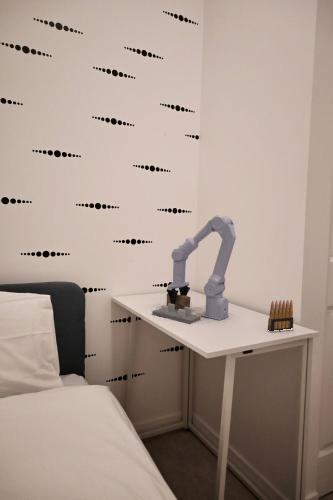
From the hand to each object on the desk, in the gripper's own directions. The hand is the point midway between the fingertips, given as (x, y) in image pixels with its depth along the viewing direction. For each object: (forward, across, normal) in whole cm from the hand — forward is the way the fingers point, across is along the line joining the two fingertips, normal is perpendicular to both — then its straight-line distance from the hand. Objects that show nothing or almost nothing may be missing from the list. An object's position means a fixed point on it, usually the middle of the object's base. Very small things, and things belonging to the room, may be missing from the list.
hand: (178, 303), depth 149 cm
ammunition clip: (+3, -3, +47) cm, 47 cm away
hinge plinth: (+3, +11, +7) cm, 13 cm away
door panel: (+3, 0, 0) cm, 3 cm away
